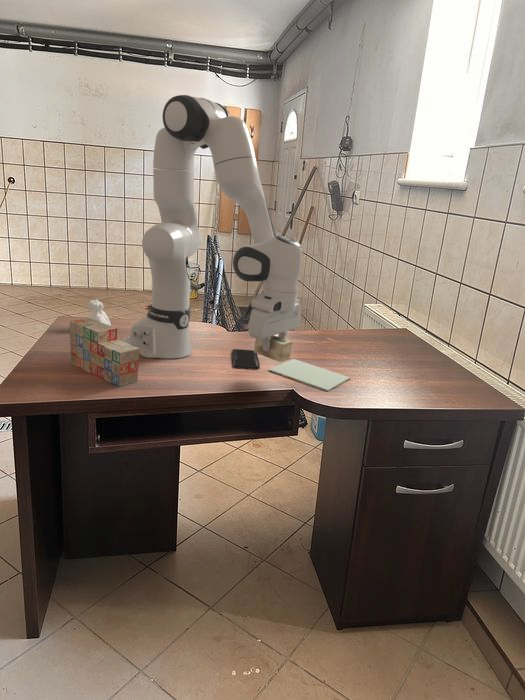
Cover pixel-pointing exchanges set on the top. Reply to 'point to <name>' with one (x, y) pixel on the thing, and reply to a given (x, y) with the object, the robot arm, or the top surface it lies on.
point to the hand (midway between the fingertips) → (272, 348)
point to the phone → (245, 359)
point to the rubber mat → (310, 374)
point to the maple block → (275, 348)
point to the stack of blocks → (103, 352)
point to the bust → (98, 312)
